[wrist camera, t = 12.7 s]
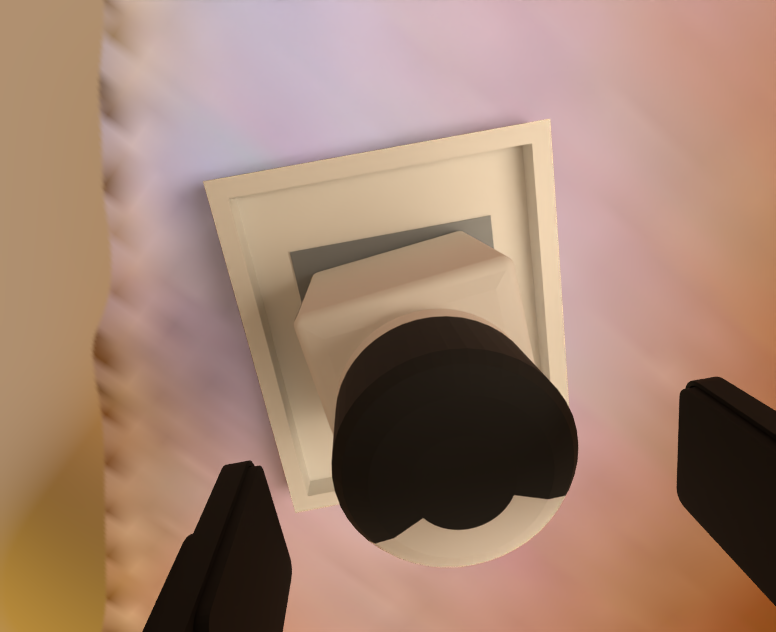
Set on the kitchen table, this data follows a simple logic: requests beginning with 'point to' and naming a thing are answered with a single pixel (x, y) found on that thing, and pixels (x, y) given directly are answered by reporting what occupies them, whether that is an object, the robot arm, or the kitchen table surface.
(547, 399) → the medicine bottle
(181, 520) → the kitchen table surface
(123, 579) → the kitchen table surface
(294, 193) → the tray
